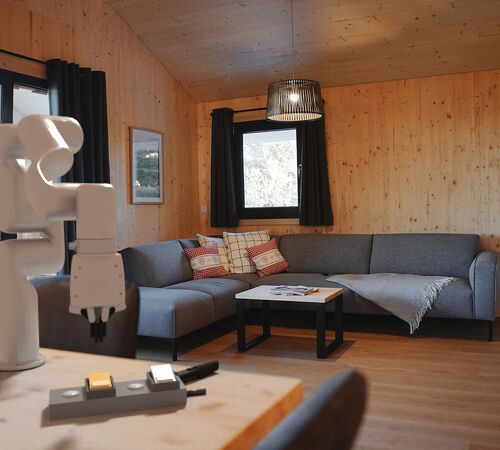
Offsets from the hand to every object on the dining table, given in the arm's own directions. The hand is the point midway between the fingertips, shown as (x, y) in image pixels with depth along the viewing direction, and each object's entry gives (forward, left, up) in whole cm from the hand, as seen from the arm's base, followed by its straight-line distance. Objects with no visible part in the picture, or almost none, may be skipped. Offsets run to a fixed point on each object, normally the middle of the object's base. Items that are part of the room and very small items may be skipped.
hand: (98, 340), depth 110 cm
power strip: (-1, +6, -13) cm, 15 cm away
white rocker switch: (-1, +13, -9) cm, 16 cm away
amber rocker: (-1, 0, -9) cm, 9 cm away
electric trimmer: (-12, +21, -14) cm, 28 cm away
